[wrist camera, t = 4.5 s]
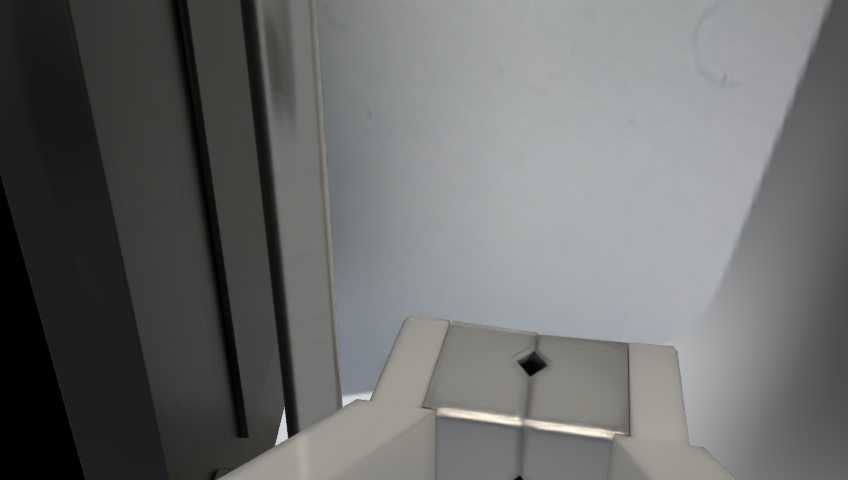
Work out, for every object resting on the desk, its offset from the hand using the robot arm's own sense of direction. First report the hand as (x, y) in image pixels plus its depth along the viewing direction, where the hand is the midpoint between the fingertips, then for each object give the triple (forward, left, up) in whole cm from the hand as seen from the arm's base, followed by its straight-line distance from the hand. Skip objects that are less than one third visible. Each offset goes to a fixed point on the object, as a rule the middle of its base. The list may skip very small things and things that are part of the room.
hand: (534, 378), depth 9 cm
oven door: (+10, 0, -20) cm, 22 cm away
